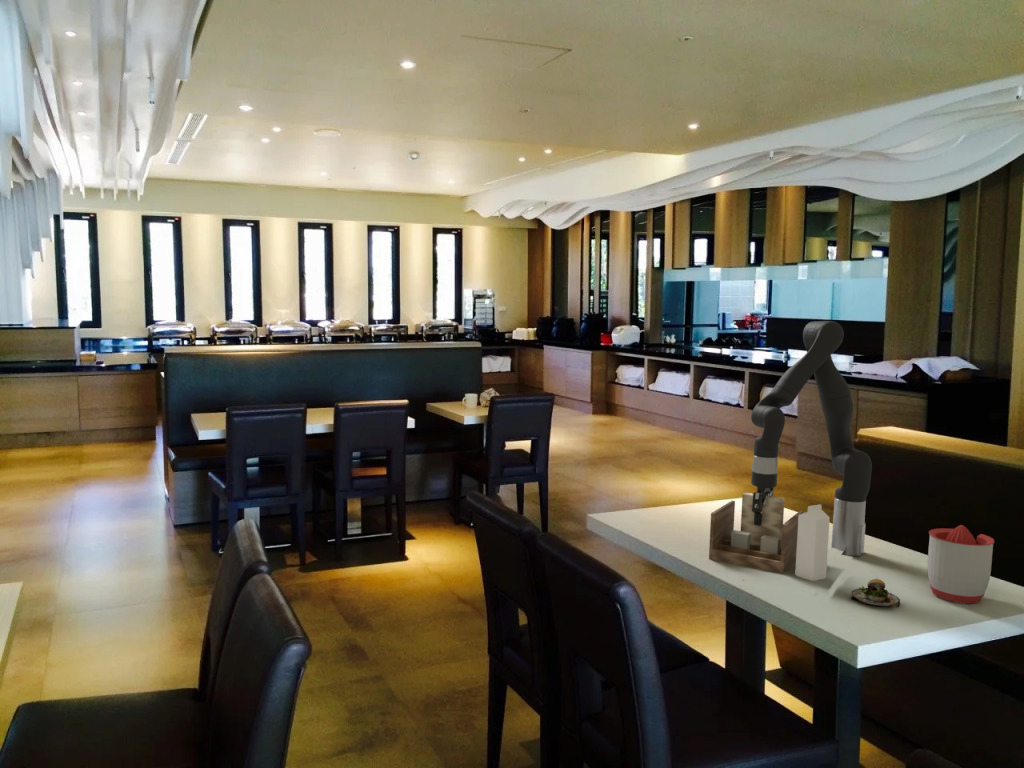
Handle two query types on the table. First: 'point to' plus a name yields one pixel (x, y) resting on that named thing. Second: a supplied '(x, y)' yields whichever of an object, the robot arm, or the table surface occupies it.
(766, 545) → the offcut
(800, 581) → the table surface
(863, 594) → the burger
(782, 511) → the beige patterned book
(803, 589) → the table surface
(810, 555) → the milk
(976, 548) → the citrus juicer
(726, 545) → the rack
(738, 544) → the offcut
